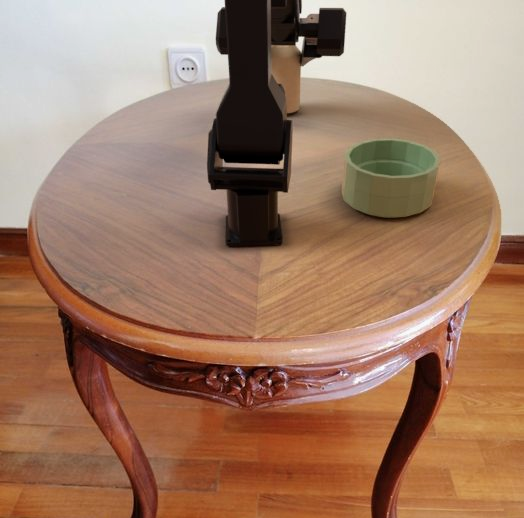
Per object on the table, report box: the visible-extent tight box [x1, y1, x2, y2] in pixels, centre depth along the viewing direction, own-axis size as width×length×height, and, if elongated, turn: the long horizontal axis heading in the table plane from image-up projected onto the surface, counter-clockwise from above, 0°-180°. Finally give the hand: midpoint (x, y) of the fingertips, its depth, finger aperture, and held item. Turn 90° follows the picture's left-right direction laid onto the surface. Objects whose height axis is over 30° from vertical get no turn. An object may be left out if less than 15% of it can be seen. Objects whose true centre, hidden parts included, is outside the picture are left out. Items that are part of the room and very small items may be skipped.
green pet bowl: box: [341, 137, 441, 219], centre depth 73 cm, size 11×11×6 cm
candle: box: [271, 45, 302, 114], centre depth 95 cm, size 6×6×10 cm
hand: (284, 63), depth 95 cm, fingers closed on candle, 5 cm apart
